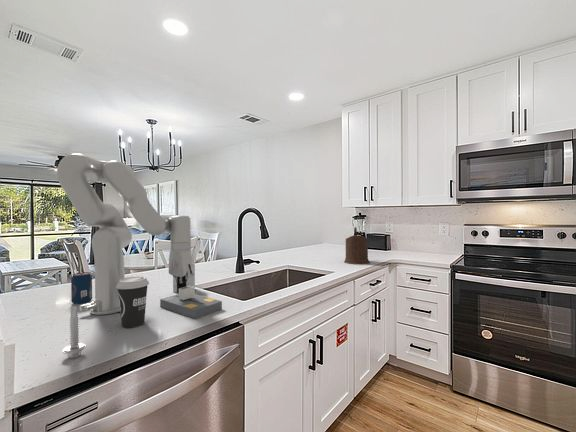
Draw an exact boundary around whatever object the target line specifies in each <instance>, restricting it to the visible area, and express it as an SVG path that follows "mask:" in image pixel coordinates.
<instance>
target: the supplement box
mask: <svg viewBox="0 0 576 432" xmlns="http://www.w3.org/2000/svg"><path fill="white" fill-rule="evenodd" d="M195 265H196V264H195V262H193V273H192V274H191V279H188V280H187V282H186V287H187V286H193V287H195V288H196V278H195V277H196V276H195V275H196V273H195V271H196V269H195V268H196V266H195ZM172 292H173V293H177V283H176V279H175V277H173V276H172Z"/></svg>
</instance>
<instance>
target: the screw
mask: <svg viewBox="0 0 576 432" xmlns="http://www.w3.org/2000/svg"><path fill="white" fill-rule="evenodd" d="M69 318H70V319H69V330H70V331H69V339H70V340H69V342H70V343H69V344H70V345H67V346H65V347H64V348H63V349H62V353H63V354H64V355H67V358H68V359H71V358H73V359H76V358H78V357H80V356H81V355H82V351H84V350H85V349H86V348H87V345H86V344H85V343H84V342H83V343H82V342H79V341H80V340H79V338H80V337H79V327H80V326H79V325H80V324H79V320H80V319H79V314H78V307H77V305H73V306H71V307H70V317H69Z"/></svg>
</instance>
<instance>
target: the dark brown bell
mask: <svg viewBox="0 0 576 432" xmlns="http://www.w3.org/2000/svg"><path fill="white" fill-rule="evenodd" d="M357 229H358V228H357V226H356V227H354V228H353V232H354V233H353V235H351V236H348V238H345V260H344V261H343V263H344V264H349V265H359V266H361V265H369V264H370V260H369V258H368V257H369V255H368V253H369V248H368V247H369V239H368V238H367V237H366V236H364V235H359V234H358V233H357V232H358V231H357Z"/></svg>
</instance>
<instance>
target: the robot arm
mask: <svg viewBox="0 0 576 432" xmlns="http://www.w3.org/2000/svg"><path fill="white" fill-rule="evenodd" d="M56 176H57V180H58V182H59V185H60V187H61V189H62V190H63V192H64V193H65V194H66V196H67V198H68V199H69V201H70V203H71V204H72V206H73V208H74V210H75V211H76V212H77V214H78V216H79V218H80V220H81V221H82V222H83V224H84V225H86V226H88V227H93V228H94V227H98V228H99V229H98V230H97V231H95V232H94V234H93V235H92V239H91V248H92V252H93V259H94V295H95V297H94V298H92V299H91V301H90V302H89V303H86V304H81V305H79V311H85V310H86V311H90V313H91V314H92V315H95V316H96V315H97V316H100V315H101V316H102V315H103V316H104V315H110V314H111V315H113V314H115V313H119V312H120V303H119V295H118V289H117V288H116V285H117V283H118V282H119V280H120V279H123V278H125V259H124V258H125V257H124V253H123V249H124V248H126V247H128V246H129V245H130V243H131V242H132V238H133V237H132V236H133V235H132V232H131V230H130V228H129V225H128V224H127V223H126V221H125V220H124V218H123V216H122V215H121V213H120V211H119V210H118V208H117V207H116V206H114V205H113V204H111V203H108V202H103V200H101V199H100V197H99V195H98V193H97V192H96V190H95V188H94V187H93V185H91V184H90V183H89V181H88V180H90V181H95V182H102V183H108V184H109V185H111V187H112V188H113V189H114V190H115V192H116V193H117V194H118V195H119V196H120V197H121V198H122V200H123V201H124V203H126V206H127V209H128V210H129V212H130V213H131V215H132V217H133V218H134V219H135V221H136V222H137V223H138V224H139V225H140V226H141V228H142V229H143V230H144V231H145V232H146V233H147V234H149V235H151V236H160V235H164V234H170V249H169V250H170V251H169V257H168V274H169V275H171V276H172V278H173V277H175V279H176V283H177V292H176V293H177V294H179V288H183V287H186V282H187V280H188V279H191V274H192V273H193V263H194V261H193V255H192V239H191V238H192V237H191V234H192V233H191V232H192V227H191V218H190V216H188V215H173V216H172V215H171V216H170V215H163V214H162V215H161V214H159V212H158V211H157V210H156V209H155V207H154V206H153V205H152V204H151V202H150V200H149V199H148V192H147V190H146V188H145V187H144V186H143V185H142V184H141V183H140V181H139V180H138V179H137V178H136V173H135V171H134V168H132V167H131V166H130V165H128V163H127V164H126V163H125V162H122V161H119V160H110V161H105V160H101V159H100V160H99V159H96V158H93V157H91V156H89V155H85V154H82V153H77V152H76V153H69V154H67V155H65V156H64V157H63V158H62V159H60V161H59V163H58V165H57V169H56ZM120 313H121V312H120Z"/></svg>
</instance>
